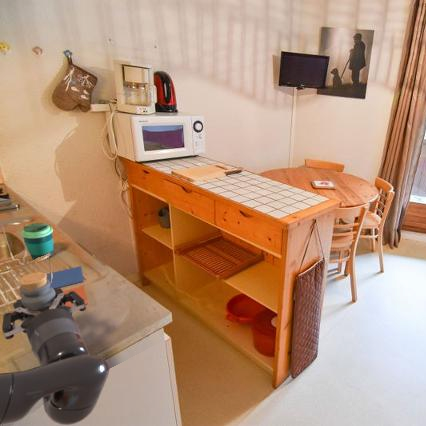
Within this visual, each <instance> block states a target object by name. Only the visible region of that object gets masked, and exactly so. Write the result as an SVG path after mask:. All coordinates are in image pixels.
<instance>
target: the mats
mask: <svg viewBox="0 0 426 426" xmlns="http://www.w3.org/2000/svg"><path fill="white" fill-rule="evenodd" d="M51 273H53V279H52V283H51ZM45 274H46V275H47V279H48V280H49V281H50V287H51V288H56V287H57V289H59V288H60V289H62V288H65V287H69V286H73V285H76V284H80V283H84V278H83V270H82V266H81V265H80V266H75V267H70V268H66V269H63V270H57V271H54V272H50V273H49V272H48V273H45ZM62 291H63V293H64V294H68V293H69V292H71V291H74V292H75V293H77V294H78V295H79V296H80V297H81V298H82V299H84V302H85V306H87V305H88V302H87V296H86V289H85V286H84V285H82V286H81V285H80V286H77V287H74V288H70V289H66V290H62ZM65 306H69V307H72V303H71V302H70V301H69V302H67V303H66V305H65Z"/></svg>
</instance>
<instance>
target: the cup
mask: <svg viewBox="0 0 426 426" xmlns="http://www.w3.org/2000/svg"><path fill="white" fill-rule="evenodd" d="M53 232H54V229H53V226H50V225H49V224H48V223H47V222H35V223H31V224H28V225H26V226H24V227H23V229H22V230H21V231H20V236H21V237H22V238H23V242H24V244H25V246H26V249H27V251H28V253H29V255H30V257H31V259H32V260H33V261H35V260H34V259H36V258H38V257H41V256H44V255H46V254H48V253H51V257H50V258H52V257H53V256H54V236H53Z"/></svg>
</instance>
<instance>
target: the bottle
mask: <svg viewBox="0 0 426 426" xmlns="http://www.w3.org/2000/svg"><path fill="white" fill-rule="evenodd" d="M46 274H47V273H45V272H41V271H39V272H32V273H29V274H26V275H24V276H21V278H19V279H18V281H17V282H18V284H19V286H20V287H19V293H20V294H21V295H22V296H21V297H20V299H21V302H22V305H23V307H24V308H25V309H27V308H29V309H32V310H37V309H41V308H44V307H46V306H49V305H51V304H52V303H53V301H54V299H56V298H57V297H56V294H55V291H54V289H53V288H51V287H50V281H49V280H48V279H47V275H46Z"/></svg>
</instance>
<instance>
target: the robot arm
mask: <svg viewBox="0 0 426 426" xmlns="http://www.w3.org/2000/svg"><path fill="white" fill-rule="evenodd" d="M53 289H54V291H55V294H56V297H57V298H56V299H54V301H53V303H52V304H51V305H49V306H46V307H44V308H41V309H37V310H32V309H29V308H27V309H25V308H24V307H23V305H22V302H21V298H18V299H16V300H15V301H16V302H13V303H12V306H13V309H14V311H12V312H6V313H4V314H3V317H2V326H1V330H2V333H3V335H4V338H5V340H10V339H13V338H14V337H15V335H17V334H18V333H19V334H20V333H23V334H26V336H27V339H28V342H29V344H30V347H31V351H32V353H33V355H34V356H35V358H36V359H37V361H38V364H39V366H35V367H32V368H29V369H25V370H21V371H12V372H9V371H8V372H0V426H7V425H10V424H13V423H17V422H19V421H21V420H23V419H24V418H26V417H27V416H28V415H29V413H30V412H31V411H32V409H33V408H34V406H36V404H38V402H39V401H40V400H42V403H43V404H42V405H43V409H44V412H45V414H46V416H47V417H48V418H49V419H50V420H51V421H52V422H54V423H56V424H58V425H62V426H70V425H71V426H72V425H76V424H78V423H80V422H82V421H83V420H85V419H87V418H88V417H89V415H90V414H92V412H93V411H94V409H95V408H96V406H97V404H98V401H99V398H100V397H101V394H102V391H103V389H104V387H105V384H106V382H107V379H108V376H109V373H110V364H109V363H108V361H107V360H106V359H105V358H103V357H101V356H100V355H97V354H90V352H89V348H88V346H87V344H86V342H85V340H84V339H83V335H82V331H81V330H80V327H79V326H78V324H77V322H76V320H75V318H74V316H73V314H74V312H77V311H80V312H84V311H86V310H87V305H85V302H84V299H82V298H81V297H80V296H79V295H78V294H77V293H75V292H74V291H71V292H69V293H68V294H64V293H63V291H64V290H63V289H62V288H57V287H56V288H53ZM69 301H70V302H71V303H72V307H69V306H65V305H66V303H67V302H69ZM16 321H20V322H21V324H20V325H18V324H17V323H16Z"/></svg>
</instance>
